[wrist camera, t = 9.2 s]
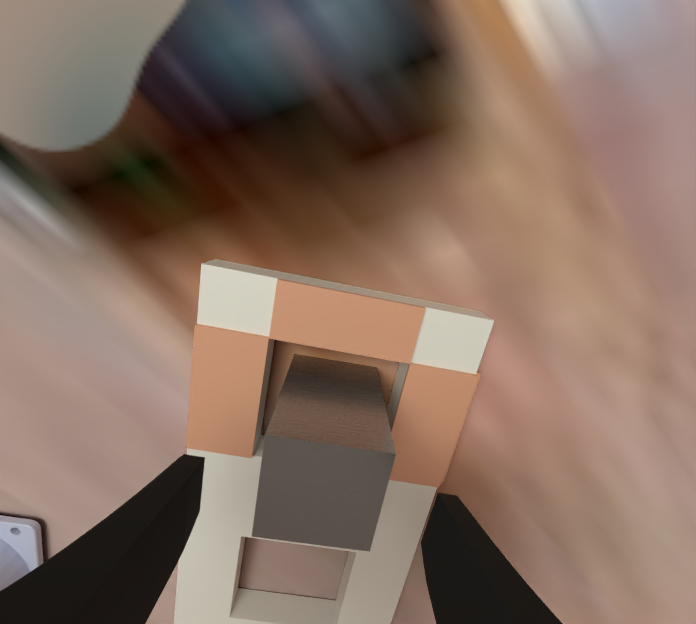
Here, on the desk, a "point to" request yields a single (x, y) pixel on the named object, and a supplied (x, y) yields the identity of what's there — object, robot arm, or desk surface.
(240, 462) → the board with square holes
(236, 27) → the desk surface
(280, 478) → the dark grey block
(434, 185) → the desk surface
